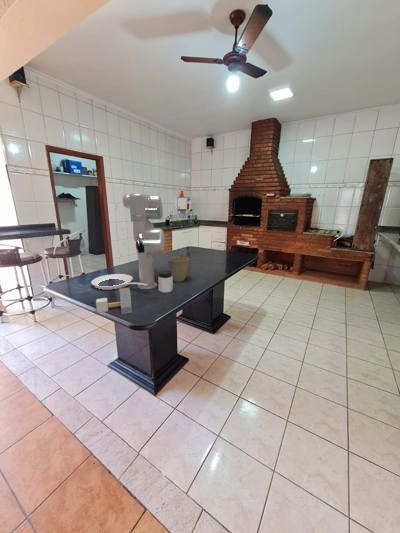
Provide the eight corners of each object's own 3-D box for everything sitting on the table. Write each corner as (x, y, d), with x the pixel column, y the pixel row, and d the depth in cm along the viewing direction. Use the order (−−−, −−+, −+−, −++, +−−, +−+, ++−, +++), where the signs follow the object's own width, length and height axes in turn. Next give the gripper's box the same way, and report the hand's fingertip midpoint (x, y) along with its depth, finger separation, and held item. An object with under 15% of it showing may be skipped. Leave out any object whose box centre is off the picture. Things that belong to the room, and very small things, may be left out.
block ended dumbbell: (97, 308, 114) (96, 299, 113) (130, 304, 120) (130, 294, 118) (97, 312, 110) (95, 302, 109) (131, 307, 116) (130, 298, 114)
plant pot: (190, 277, 166) (190, 256, 162) (187, 284, 152) (187, 261, 147) (170, 276, 167) (170, 256, 163) (166, 283, 153) (165, 260, 149)
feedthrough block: (120, 301, 123) (119, 286, 121) (129, 300, 125) (128, 285, 123) (121, 314, 109) (120, 297, 106) (132, 312, 111) (130, 296, 108)
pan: (115, 276, 168) (115, 268, 166) (161, 287, 146) (160, 278, 144) (83, 286, 146) (81, 277, 144) (130, 301, 124) (129, 290, 122)
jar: (175, 290, 140) (175, 272, 137) (165, 293, 135) (164, 275, 131) (166, 286, 146) (166, 269, 143) (156, 290, 141) (155, 271, 137)
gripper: (129, 217, 122) (131, 248, 126) (131, 219, 106) (134, 254, 111) (143, 217, 124) (145, 247, 129) (147, 219, 108) (149, 253, 113)
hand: (140, 250), depth 120 cm, fingers open, 9 cm apart
